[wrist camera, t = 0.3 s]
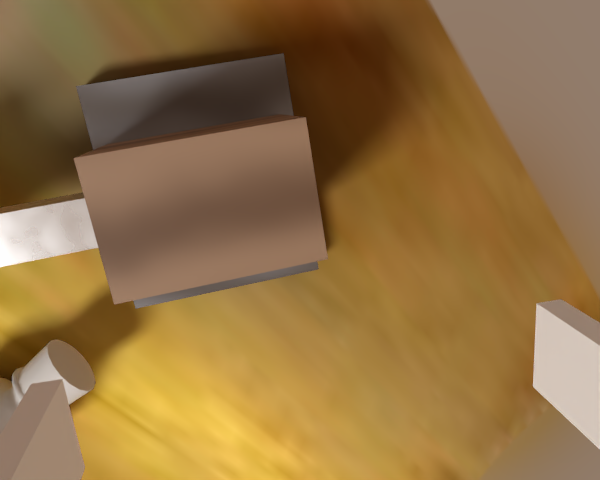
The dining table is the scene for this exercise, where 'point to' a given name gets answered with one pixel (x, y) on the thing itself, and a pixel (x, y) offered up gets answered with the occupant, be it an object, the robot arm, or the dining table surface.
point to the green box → (45, 229)
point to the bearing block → (199, 180)
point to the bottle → (47, 376)
